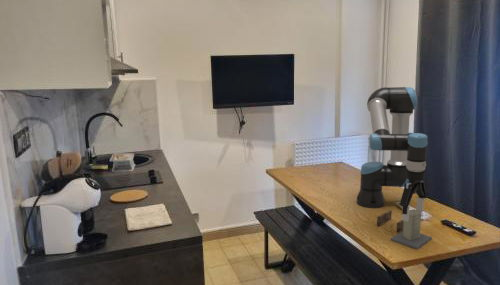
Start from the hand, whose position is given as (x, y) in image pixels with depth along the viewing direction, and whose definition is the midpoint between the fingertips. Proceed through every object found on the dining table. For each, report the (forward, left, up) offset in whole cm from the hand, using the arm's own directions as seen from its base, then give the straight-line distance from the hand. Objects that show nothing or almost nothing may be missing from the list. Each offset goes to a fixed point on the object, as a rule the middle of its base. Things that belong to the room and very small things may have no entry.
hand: (412, 216), depth 167 cm
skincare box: (0, 0, -10) cm, 10 cm away
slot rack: (-9, -13, -11) cm, 19 cm away
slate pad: (0, 0, -11) cm, 11 cm away
